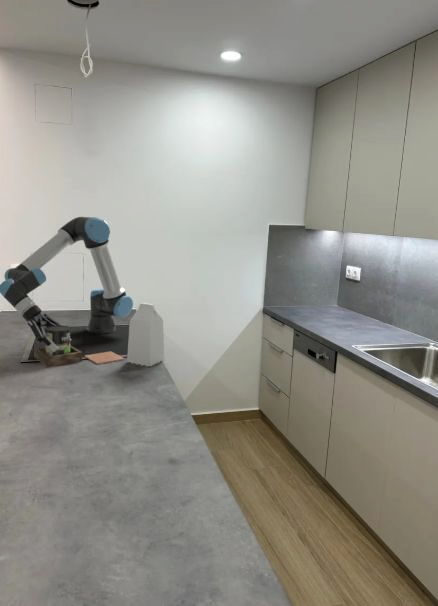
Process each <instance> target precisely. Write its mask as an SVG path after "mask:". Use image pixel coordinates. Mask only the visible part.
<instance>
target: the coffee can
mask: <svg viewBox="0 0 438 606" xmlns="http://www.w3.org/2000/svg"><path fill="white" fill-rule="evenodd" d="M44 331H45V334H46V338H47V337H49V338H50V339H51V340H52V341H53V342H54V344H55V345H56V346H57V347H58V349H57V350H56V351H55V352H53V351H52V350H51V349H50V348H49V347H48V346H47V345H46V344H45V347H46V355H47V356H55V355H62V354H68V353H70V345H71V341H70V339H71V327H70V326H67V325H62V326H50V327H44Z"/></svg>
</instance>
